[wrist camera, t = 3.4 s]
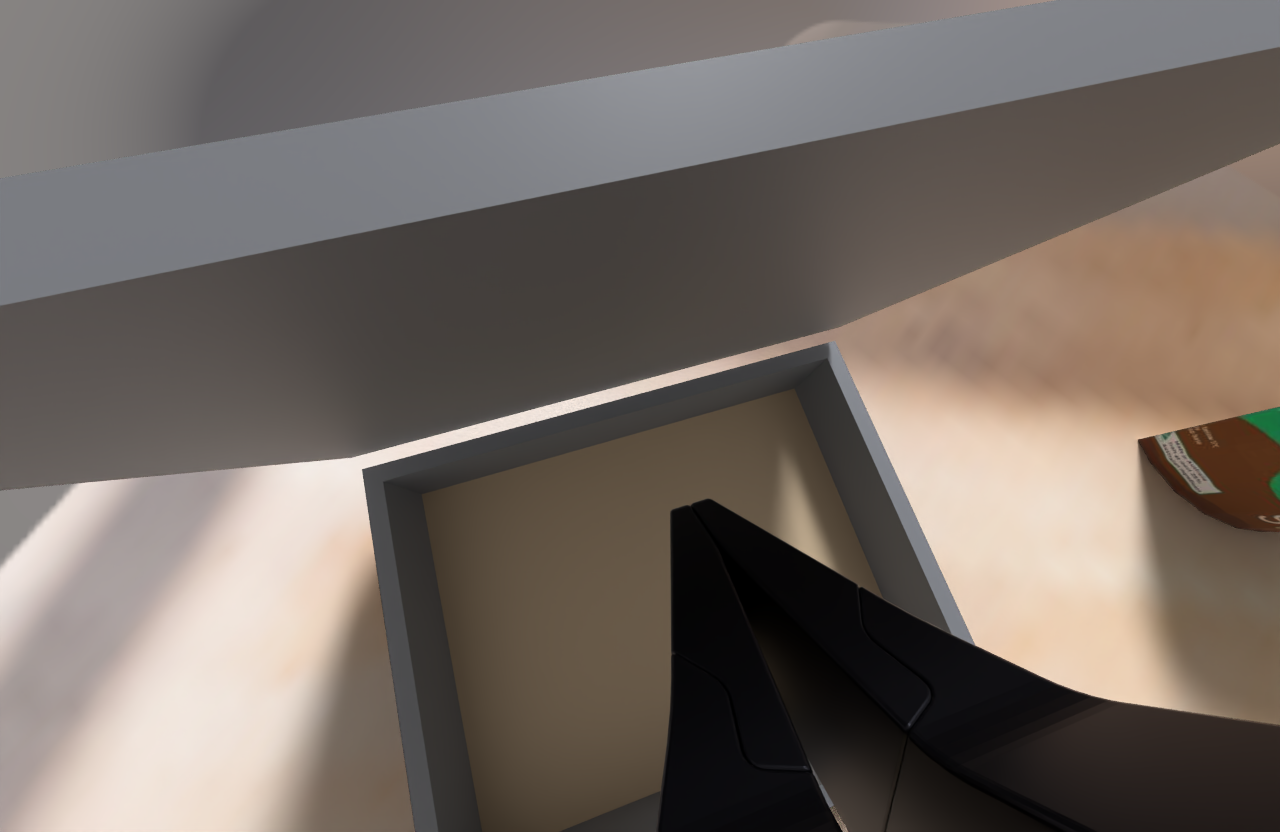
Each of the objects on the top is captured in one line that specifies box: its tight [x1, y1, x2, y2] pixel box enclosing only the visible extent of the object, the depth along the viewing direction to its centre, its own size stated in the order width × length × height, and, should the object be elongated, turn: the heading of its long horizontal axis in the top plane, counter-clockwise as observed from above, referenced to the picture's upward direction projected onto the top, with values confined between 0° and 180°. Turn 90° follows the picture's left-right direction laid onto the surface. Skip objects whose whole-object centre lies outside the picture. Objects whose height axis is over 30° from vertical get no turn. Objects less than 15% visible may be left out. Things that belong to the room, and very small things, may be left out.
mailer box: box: [362, 341, 975, 832], centre depth 17 cm, size 14×18×4 cm
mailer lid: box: [0, 0, 1280, 490], centre depth 10 cm, size 14×18×1 cm
